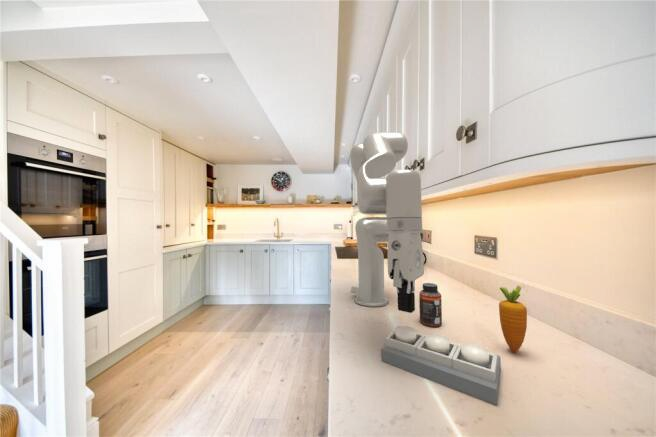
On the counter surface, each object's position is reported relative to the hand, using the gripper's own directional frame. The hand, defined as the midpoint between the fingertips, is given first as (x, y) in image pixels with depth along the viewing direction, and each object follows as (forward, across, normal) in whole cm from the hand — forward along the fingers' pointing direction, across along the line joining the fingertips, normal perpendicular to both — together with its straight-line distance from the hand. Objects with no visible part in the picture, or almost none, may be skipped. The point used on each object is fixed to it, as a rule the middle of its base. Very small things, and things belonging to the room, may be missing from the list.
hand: (406, 310), depth 51 cm
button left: (+6, +1, 0) cm, 7 cm away
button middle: (+7, +1, -6) cm, 9 cm away
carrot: (+10, +17, -18) cm, 27 cm away
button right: (+7, +1, -13) cm, 14 cm away
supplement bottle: (+10, +22, +1) cm, 24 cm away
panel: (+10, +2, -6) cm, 12 cm away
